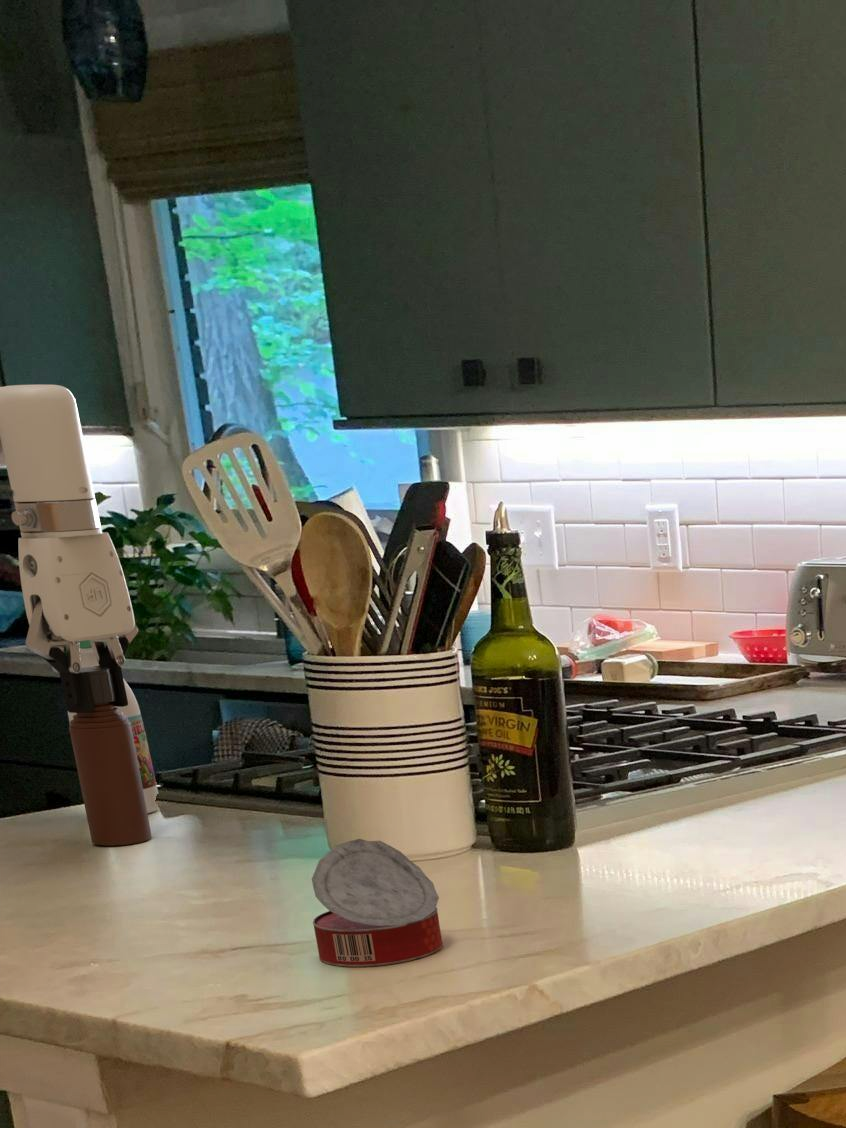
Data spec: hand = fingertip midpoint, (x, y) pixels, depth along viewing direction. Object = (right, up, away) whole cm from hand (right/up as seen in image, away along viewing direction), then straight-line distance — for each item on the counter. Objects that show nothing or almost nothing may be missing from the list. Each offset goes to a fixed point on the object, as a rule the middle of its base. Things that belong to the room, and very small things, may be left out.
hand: (98, 707), depth 201 cm
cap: (0, +1, 0) cm, 1 cm away
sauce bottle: (0, -12, +6) cm, 14 cm away
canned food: (+42, -33, -42) cm, 68 cm away
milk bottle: (-6, -6, +22) cm, 23 cm away
